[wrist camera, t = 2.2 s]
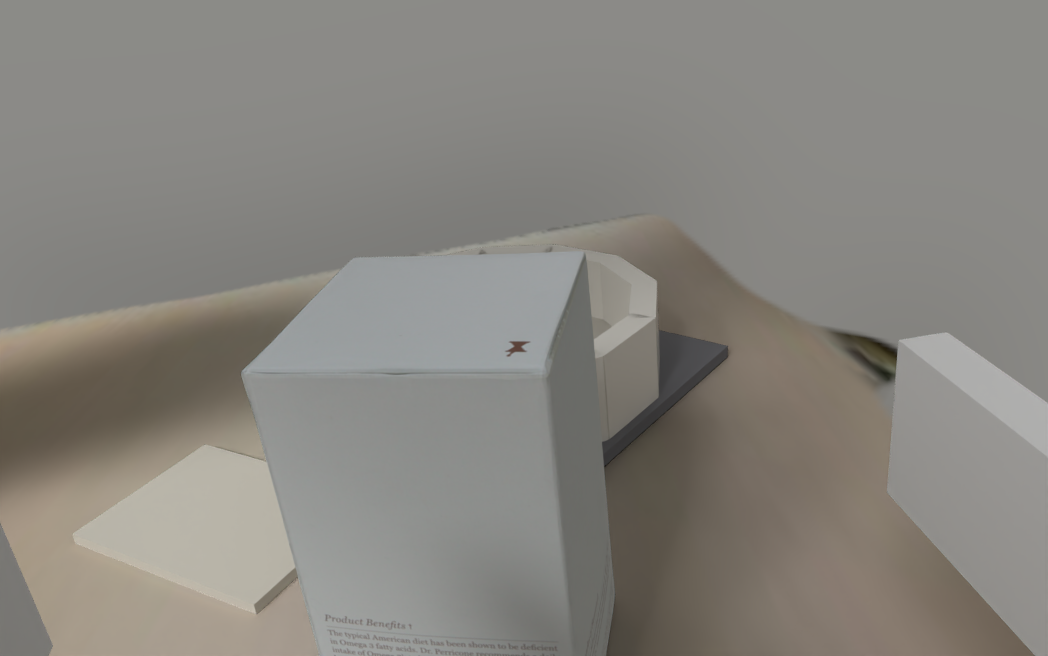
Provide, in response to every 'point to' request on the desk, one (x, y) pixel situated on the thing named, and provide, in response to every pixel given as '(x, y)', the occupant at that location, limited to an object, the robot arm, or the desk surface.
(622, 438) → the mat
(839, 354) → the desk surface
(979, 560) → the robot arm
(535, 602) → the supplement box
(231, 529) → the folded cloth
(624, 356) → the bowl
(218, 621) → the desk surface
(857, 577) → the desk surface
